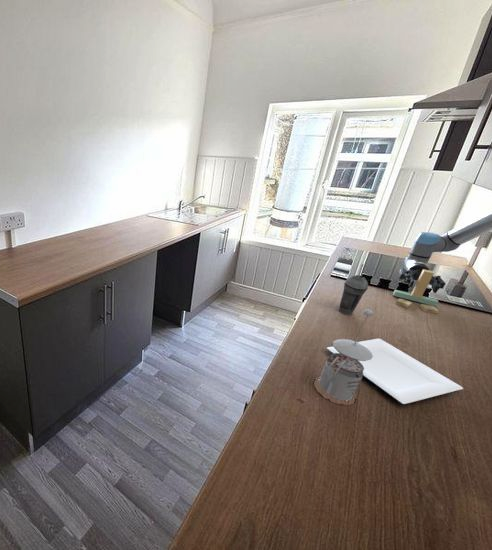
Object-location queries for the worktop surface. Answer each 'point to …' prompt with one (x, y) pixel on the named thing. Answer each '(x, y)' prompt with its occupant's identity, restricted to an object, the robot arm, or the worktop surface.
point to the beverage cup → (352, 293)
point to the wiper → (419, 290)
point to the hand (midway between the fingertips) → (423, 287)
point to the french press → (345, 367)
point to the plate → (402, 373)
